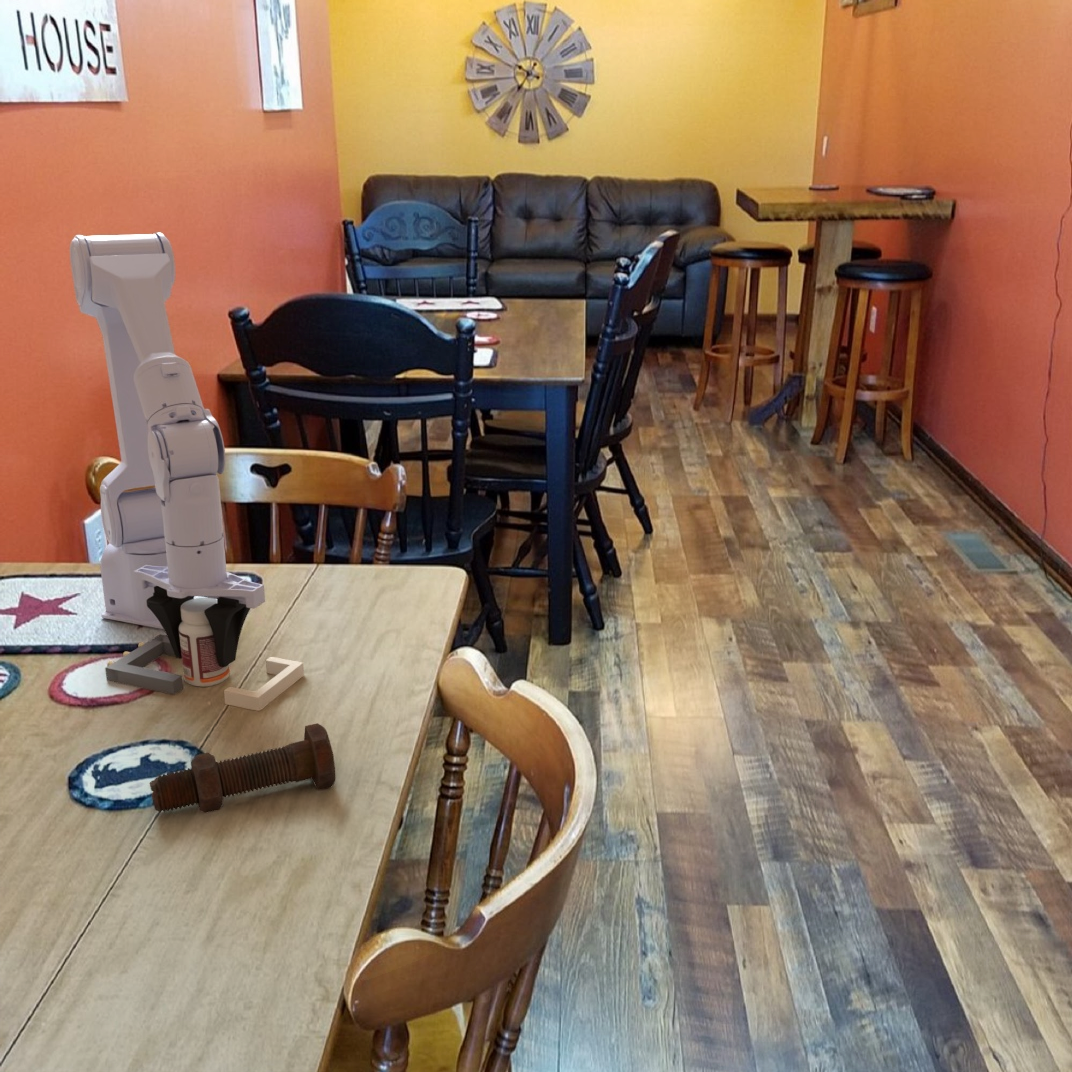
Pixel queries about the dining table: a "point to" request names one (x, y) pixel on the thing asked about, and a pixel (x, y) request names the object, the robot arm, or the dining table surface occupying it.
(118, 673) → the gray u-shaped bracket
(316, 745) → the bolt
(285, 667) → the bracket
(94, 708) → the dining table surface
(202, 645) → the pill bottle
